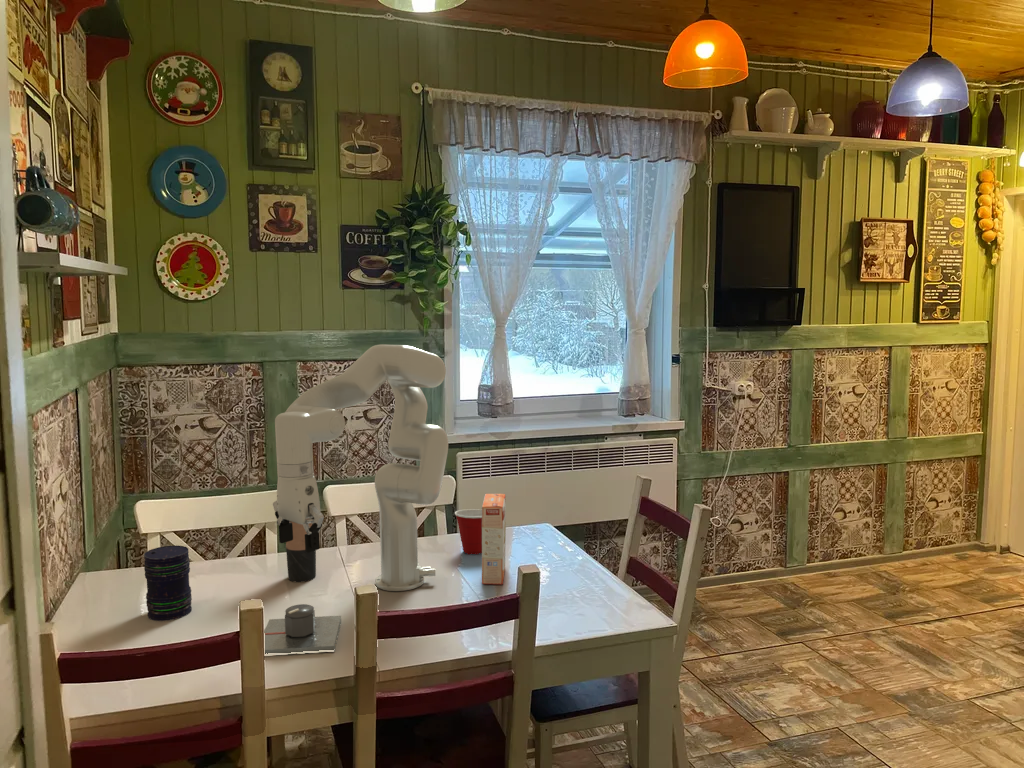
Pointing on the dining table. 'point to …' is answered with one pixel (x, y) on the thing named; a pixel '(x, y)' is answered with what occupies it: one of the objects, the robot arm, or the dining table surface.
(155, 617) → the storage jar
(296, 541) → the travel mug
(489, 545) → the cracker box
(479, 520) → the plastic cup
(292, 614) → the knob
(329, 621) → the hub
